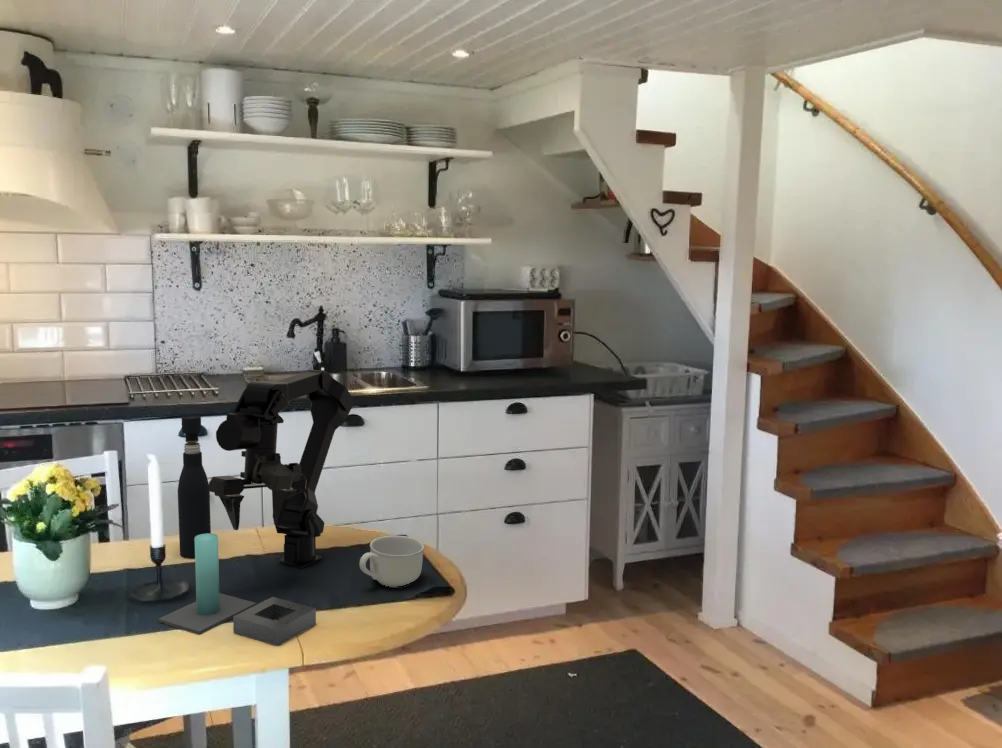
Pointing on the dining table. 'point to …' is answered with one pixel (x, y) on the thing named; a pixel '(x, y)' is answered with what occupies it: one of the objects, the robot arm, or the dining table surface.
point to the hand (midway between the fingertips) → (256, 527)
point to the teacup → (394, 560)
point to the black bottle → (192, 490)
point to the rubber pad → (202, 623)
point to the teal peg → (207, 574)
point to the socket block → (265, 629)
